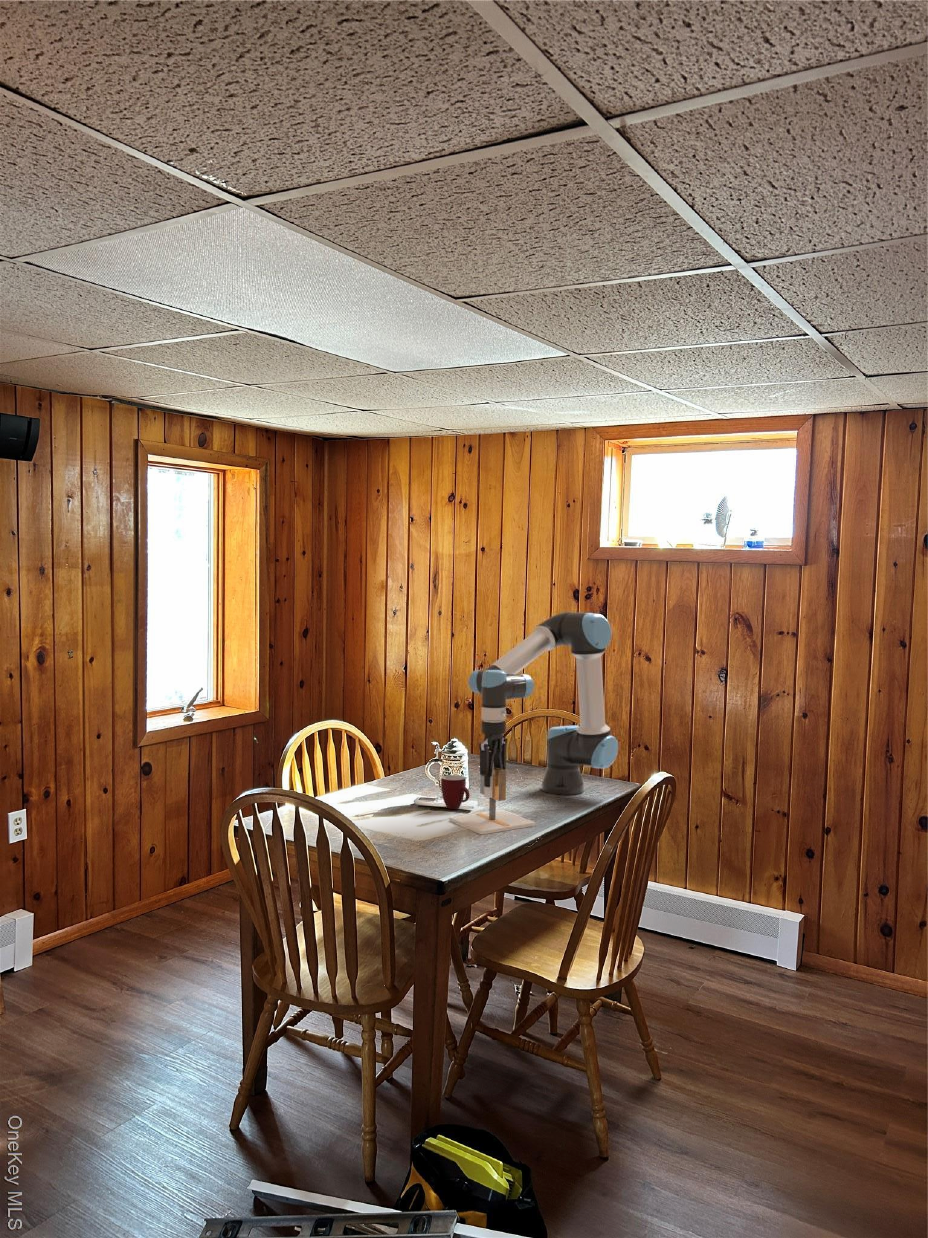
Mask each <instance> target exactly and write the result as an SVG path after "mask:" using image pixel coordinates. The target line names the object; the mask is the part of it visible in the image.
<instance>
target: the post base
mask: <svg viewBox="0 0 928 1238" xmlns="http://www.w3.org/2000/svg"><path fill="white" fill-rule="evenodd" d="M488 799H489V800H488V801H489V802H488V803H489V806H488V809H489V810H488V811H483V812H475V813H471V814H469V813H468V814H462V815H456V816H450V817H449V822H452V823H454V824H456V825H457V826H461V827H463V828H465V829H467V830H470V831H472V832H475V833H477V834H479V835H487V834H493V833H499V832H506V831H511V830H517V829H523V828H529V827H530V828H531V827H535V826H537V825H536V821H533V820H531V819H528V818H525V817H523V816H520V815H518V814H515V813H512V812H510V811H507V810H504V809H497V804H496V803H497V800H495V799H493V798H489V797H488Z"/></svg>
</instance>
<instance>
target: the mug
mask: <svg viewBox="0 0 928 1238" xmlns="http://www.w3.org/2000/svg"><path fill="white" fill-rule="evenodd" d="M440 778H441V779H440V781H441V782H440V783H441V784H440V786H441V793H442V798H443V802H444V804H445V807H446V808H447V809H450V810H457V809H459V808H460V807H461V805H462V803H465V802H468V801H469V799H470V791H469V789H468V788H467V787H466V784H467V782H466V781H467V780H466V779H467V777H466V776H464V775H460V774H450V775H449V774H448V775H442V776H441V777H440ZM464 796H465V798H464Z"/></svg>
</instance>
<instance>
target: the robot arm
mask: <svg viewBox="0 0 928 1238" xmlns="http://www.w3.org/2000/svg"><path fill="white" fill-rule="evenodd" d="M611 639H612V627H611V625H610V622H609V620H608V619H607V618H606V617H605V616H604V615H603V614H600V613H593V612H570V611H568V612H567V611H563V612H559V613H557V614H555V615H553V616H550V617H549V618H547V619H545V620H543V621H542V622H541V623H539V624H538V625H536V627H534V628H533V630H532V633H531V634H529V635H528V636H527V637H526V638H525V639H523V640H522V641H520V642H519V643H518V644H516V645H515V646H513V647H512V648H511V649H510V650H509V651H508V652H506V653H505V654H504V655H502V656H501V657H499V658H498V659H497V660H495V661H494V662H493V663H491V664H490V665H489V666H488V667H486V668H485V669H483V670H482V669H477V670H473V671H472V672H471V673H470V675H469V677H468V680H467V682H468V683H467V685H468V687H469V689H470V691H471V692H473V693H475V694H479V695H481V724H480V725H481V733H482V734H484V740H483V742H482V743H479V744H478V749H479V775H481V776H484V795H483V797H484V798H488V799H489V798H493V776H492V768H493V766H494V767H497V768H500V769H503V770H506V768H507V745H508V738H506V737H503V735H504V734H505V733H506V731H507V729H506V728H507V725H506V724H507V723H506V721H505V720H506V719H507V718H506V717H507V701H508V700H514V699H515V700H516V699H524V698H527V697H530V696H531V695H532V694H533V692H534V691H535V682H534V680H533V678H532V677H531V676H530V675H529V674H527V673H519V672H521V671H523V669H525V668H526V667H527V666H529V665H530V664H531V663H532V662H533V661H534V660H536V659H538V658H539V657H540V656H542V654H544V652H546V651H547V652H549V651H552V650H553V649H555V648H557V647H561V646H562V647H563V646H568V647H570V654H571V655H572V656H574V657H575V661H576V664H575V666H576V677H577V680H576V681H577V691H578V692H577V693H578V695H577V696H578V708H579V709H578V711H579V721H580V722H579V725H560V726H552V727H550V728H549V729H548V730H547V737H546V770H545V772H544V776H543V778H542V779H543V780H542V781H541V790H542V791H543V792H545V793H549V794H552V795H560V796H561V795H565V796H566V795H567V796H568V795H578V794H581V793H582V794H583V792H584V791H585V785H584V784H585V783H584V781H583V778H582V773H581V770H580V766H584V767H590V768H594V769H607V768H609V767H610V766H612V765H613V763H614V762H615V760H616V759H617V756H618V753H619V742H618V740H617V738H616V737H615V736H613V735H611V727H610V726H608V724H606V713H605V699H604V698H605V697H604V685H603V684H604V680H603V664H602V657H603V656H602V655H604V653H606V648H607V647H609V644H610V643H611Z"/></svg>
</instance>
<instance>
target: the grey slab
mask: <svg viewBox="0 0 928 1238" xmlns="http://www.w3.org/2000/svg"><path fill="white" fill-rule="evenodd" d="M479 775H480V774H479ZM492 776H493V799H495V800H496V802H500V801H501V802H502V801H506V800H507V799H506V798H507V770H506V769H505V770H503V769H500V768H497V767H494V765H493V768H492ZM479 783H480V785H479V786H480V787H479V793H480V794H481V795H483V796H484V776H481V775H480V782H479Z"/></svg>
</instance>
